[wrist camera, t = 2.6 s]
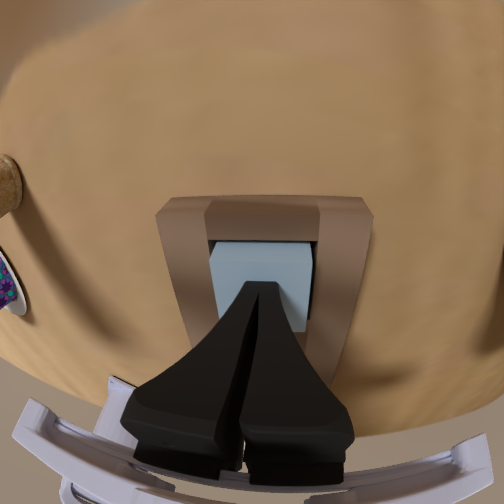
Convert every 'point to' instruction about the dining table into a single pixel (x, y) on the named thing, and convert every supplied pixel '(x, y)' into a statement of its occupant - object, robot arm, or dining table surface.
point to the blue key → (264, 273)
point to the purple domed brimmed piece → (10, 290)
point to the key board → (272, 228)
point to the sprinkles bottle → (9, 185)
